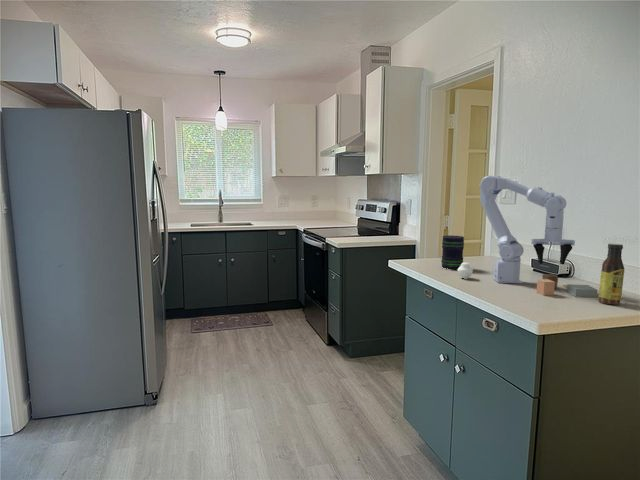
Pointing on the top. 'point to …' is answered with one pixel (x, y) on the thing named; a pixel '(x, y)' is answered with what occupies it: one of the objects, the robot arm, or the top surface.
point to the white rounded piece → (465, 270)
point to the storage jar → (452, 251)
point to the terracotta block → (545, 287)
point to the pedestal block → (582, 290)
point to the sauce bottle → (612, 276)
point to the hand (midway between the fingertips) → (551, 263)
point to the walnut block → (551, 278)
